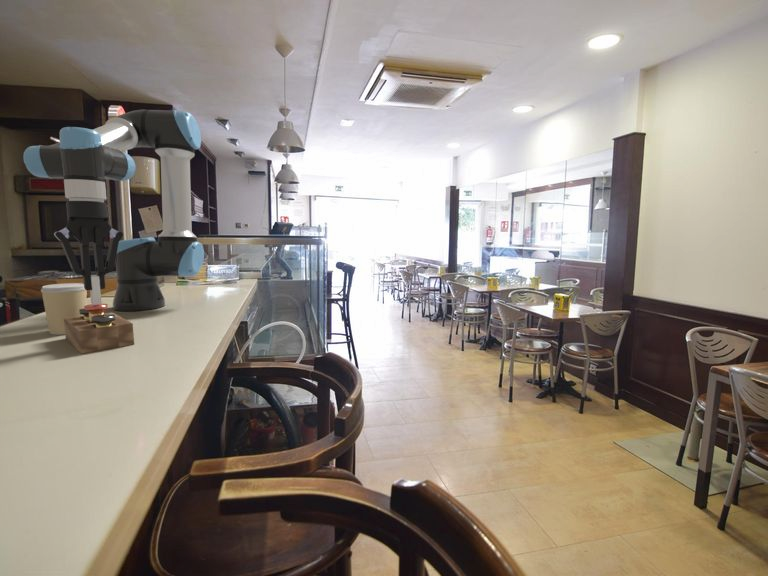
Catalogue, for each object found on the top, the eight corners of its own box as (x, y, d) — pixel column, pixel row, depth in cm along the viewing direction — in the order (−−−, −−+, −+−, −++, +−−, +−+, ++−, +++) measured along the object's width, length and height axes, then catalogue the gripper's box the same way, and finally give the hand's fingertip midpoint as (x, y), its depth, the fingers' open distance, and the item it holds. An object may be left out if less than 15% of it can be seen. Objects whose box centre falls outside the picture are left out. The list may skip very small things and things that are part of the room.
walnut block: (114, 331, 104) (112, 312, 104) (134, 344, 93) (132, 323, 92) (65, 338, 97) (63, 318, 97) (81, 353, 86) (79, 330, 85)
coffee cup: (99, 327, 109) (95, 283, 107) (69, 336, 99) (64, 288, 98) (68, 326, 109) (63, 282, 108) (35, 334, 100) (30, 287, 99)
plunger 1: (101, 331, 102) (99, 306, 101) (105, 334, 99) (103, 308, 98) (80, 334, 99) (77, 308, 98) (84, 337, 96) (81, 311, 95)
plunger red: (107, 329, 98) (104, 302, 97) (111, 332, 95) (109, 305, 94) (84, 332, 95) (82, 305, 94) (89, 335, 92) (86, 307, 91)
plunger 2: (114, 340, 94) (112, 313, 93) (119, 344, 91) (117, 316, 90) (91, 344, 91) (89, 316, 90) (96, 348, 88) (93, 319, 87)
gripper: (115, 202, 98) (123, 298, 101) (46, 199, 88) (58, 304, 92) (124, 201, 93) (132, 302, 96) (52, 198, 83) (64, 309, 87)
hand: (96, 303), depth 94 cm, fingers closed
